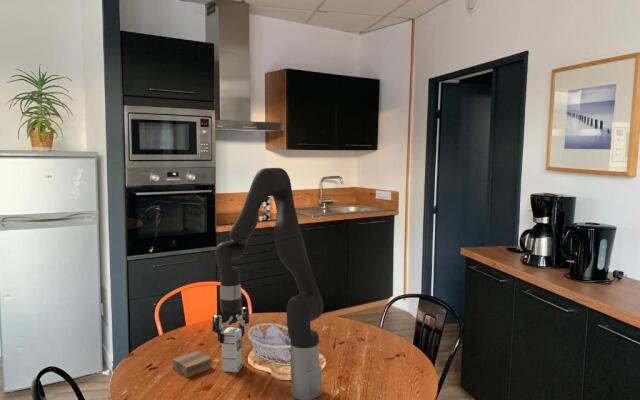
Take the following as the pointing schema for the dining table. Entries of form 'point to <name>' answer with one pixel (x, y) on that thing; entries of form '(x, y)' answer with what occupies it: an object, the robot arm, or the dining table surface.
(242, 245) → the robot arm
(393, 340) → the dining table surface
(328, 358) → the dining table surface
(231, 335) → the syrup box
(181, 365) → the walnut base block
